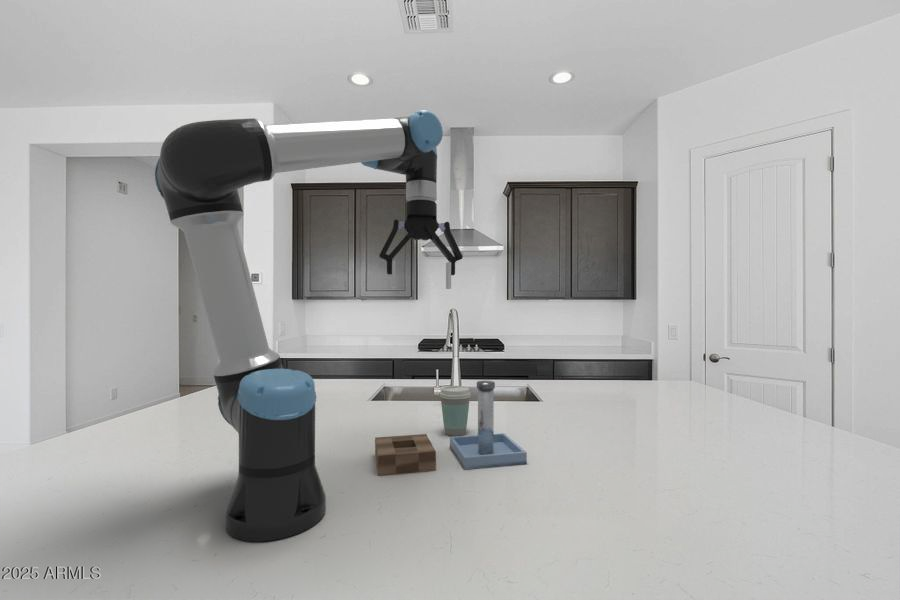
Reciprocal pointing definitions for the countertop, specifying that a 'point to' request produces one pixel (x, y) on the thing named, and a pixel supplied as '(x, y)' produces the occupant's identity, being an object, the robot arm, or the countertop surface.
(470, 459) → the tray
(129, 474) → the countertop surface
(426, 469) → the socket block
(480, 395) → the pin
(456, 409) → the coffee cup
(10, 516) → the countertop surface
